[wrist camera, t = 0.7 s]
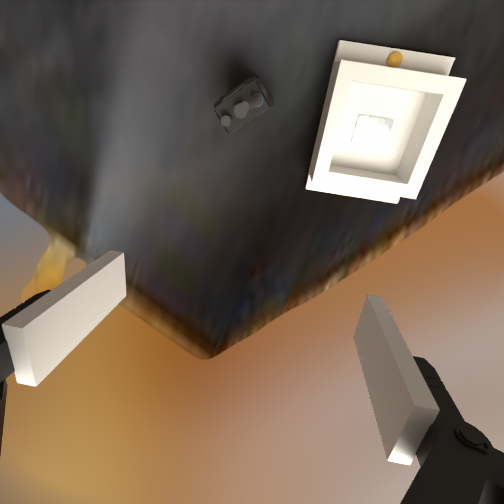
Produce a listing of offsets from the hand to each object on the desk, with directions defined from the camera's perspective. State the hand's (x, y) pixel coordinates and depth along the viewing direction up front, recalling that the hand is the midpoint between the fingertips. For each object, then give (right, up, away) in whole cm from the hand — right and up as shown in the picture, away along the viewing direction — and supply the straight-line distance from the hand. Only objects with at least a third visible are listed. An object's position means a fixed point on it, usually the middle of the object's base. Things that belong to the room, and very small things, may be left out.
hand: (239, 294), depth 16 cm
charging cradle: (+15, +17, +20) cm, 30 cm away
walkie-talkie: (+1, +20, +19) cm, 28 cm away
